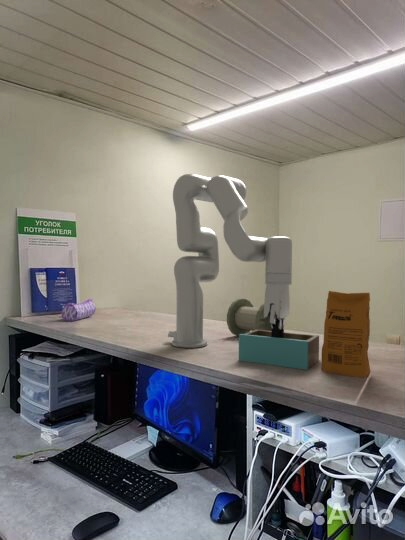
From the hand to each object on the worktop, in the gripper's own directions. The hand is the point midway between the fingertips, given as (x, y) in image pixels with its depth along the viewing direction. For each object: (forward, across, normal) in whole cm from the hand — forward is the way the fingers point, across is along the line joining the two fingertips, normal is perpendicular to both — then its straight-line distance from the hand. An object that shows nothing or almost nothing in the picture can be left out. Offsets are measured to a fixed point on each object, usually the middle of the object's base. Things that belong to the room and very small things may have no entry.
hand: (277, 342), depth 117 cm
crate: (+6, -2, 0) cm, 7 cm away
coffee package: (+7, +1, +19) cm, 20 cm away
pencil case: (+7, -38, -119) cm, 125 cm away
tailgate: (+6, +4, 0) cm, 7 cm away
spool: (+7, -36, -21) cm, 42 cm away
